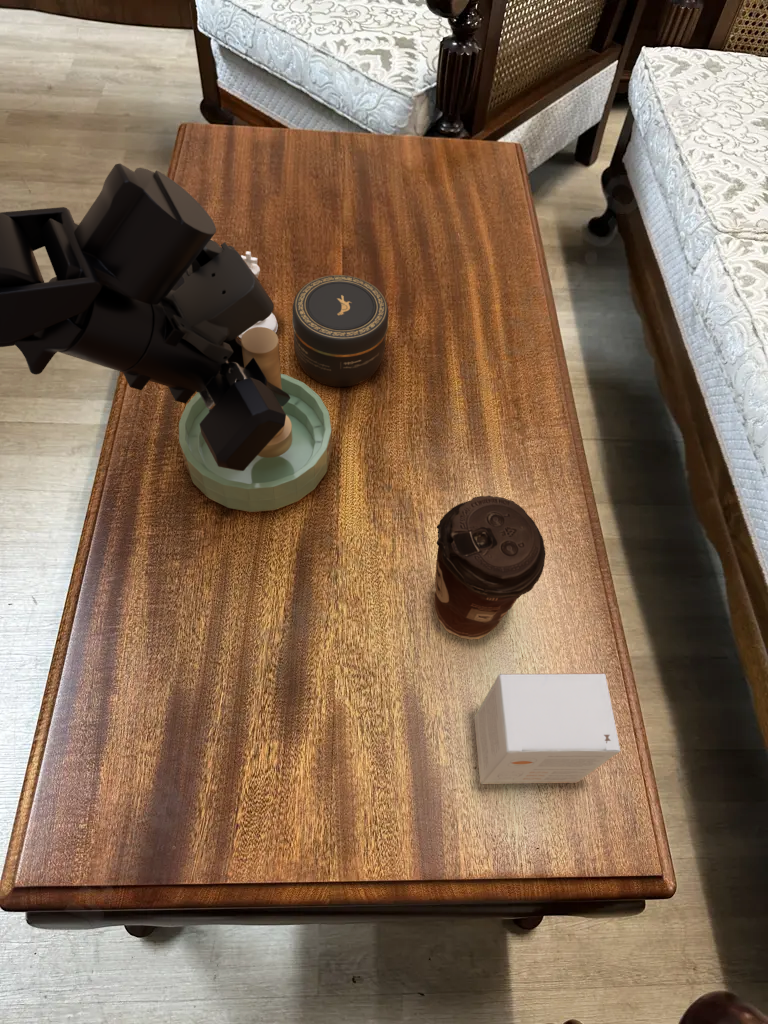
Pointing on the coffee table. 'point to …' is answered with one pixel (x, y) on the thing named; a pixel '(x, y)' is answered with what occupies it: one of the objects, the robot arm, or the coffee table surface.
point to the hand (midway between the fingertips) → (279, 388)
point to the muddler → (266, 354)
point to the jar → (339, 329)
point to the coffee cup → (484, 564)
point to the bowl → (263, 477)
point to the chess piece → (252, 263)
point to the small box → (545, 728)
